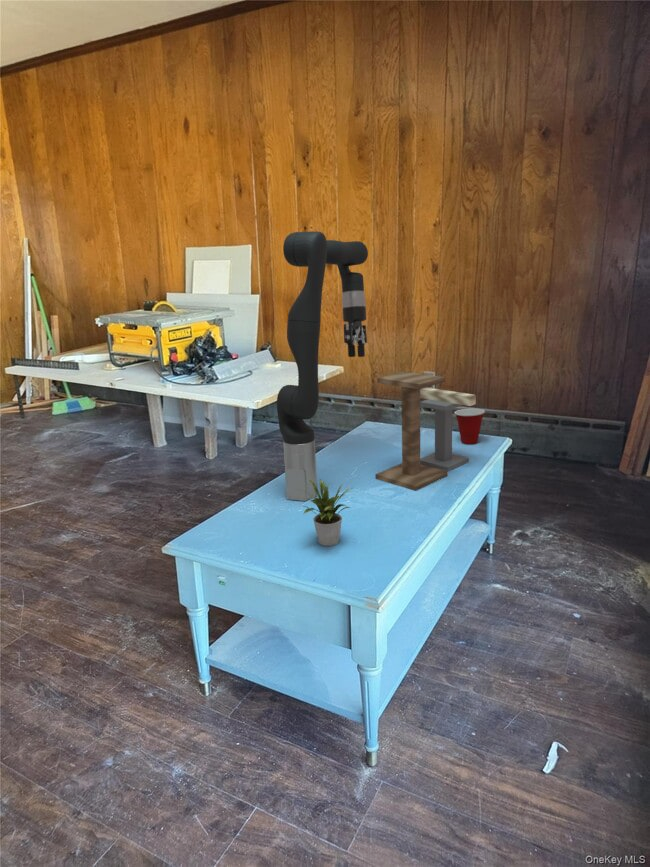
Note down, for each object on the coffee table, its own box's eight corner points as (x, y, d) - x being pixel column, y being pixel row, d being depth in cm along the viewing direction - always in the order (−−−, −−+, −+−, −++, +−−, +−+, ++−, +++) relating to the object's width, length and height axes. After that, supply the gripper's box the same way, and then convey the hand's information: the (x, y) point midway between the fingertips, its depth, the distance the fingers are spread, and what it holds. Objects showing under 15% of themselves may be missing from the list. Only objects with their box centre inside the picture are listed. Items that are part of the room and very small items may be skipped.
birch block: (475, 404, 187) (475, 394, 186) (470, 406, 185) (470, 396, 184) (414, 394, 204) (414, 385, 203) (408, 395, 202) (408, 387, 201)
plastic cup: (466, 436, 227) (466, 405, 223) (490, 441, 219) (491, 410, 215) (447, 442, 220) (448, 411, 217) (471, 448, 212) (472, 416, 209)
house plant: (284, 541, 150) (279, 480, 145) (323, 523, 159) (320, 465, 155) (323, 559, 140) (320, 495, 136) (363, 539, 149) (361, 478, 145)
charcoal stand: (468, 462, 199) (470, 399, 193) (447, 471, 191) (448, 406, 185) (439, 454, 208) (439, 394, 201) (417, 463, 200) (417, 401, 194)
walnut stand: (447, 475, 188) (448, 375, 179) (415, 490, 178) (415, 385, 168) (407, 465, 199) (406, 370, 190) (375, 478, 189) (372, 379, 180)
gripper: (356, 303, 185) (359, 356, 187) (372, 306, 198) (375, 356, 200) (334, 306, 188) (337, 357, 190) (351, 308, 201) (354, 357, 203)
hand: (356, 356), depth 195 cm, fingers open, 8 cm apart
